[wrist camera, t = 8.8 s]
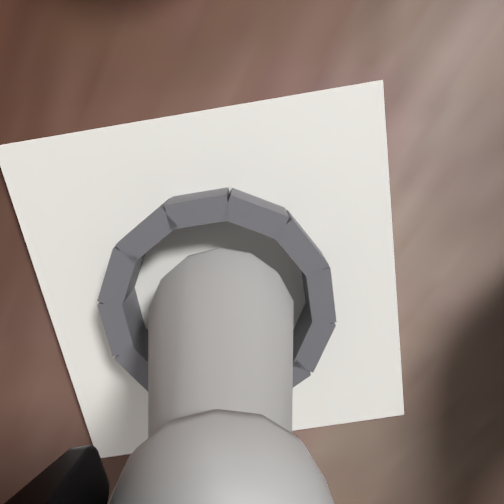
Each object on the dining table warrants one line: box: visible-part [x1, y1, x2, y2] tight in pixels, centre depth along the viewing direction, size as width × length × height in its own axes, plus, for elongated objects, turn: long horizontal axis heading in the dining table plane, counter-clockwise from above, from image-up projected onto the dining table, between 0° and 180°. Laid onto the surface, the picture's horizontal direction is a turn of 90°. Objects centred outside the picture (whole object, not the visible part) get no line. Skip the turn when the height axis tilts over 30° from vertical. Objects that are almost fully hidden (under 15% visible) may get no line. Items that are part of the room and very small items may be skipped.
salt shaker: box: [108, 247, 334, 504], centre depth 13 cm, size 6×6×13 cm
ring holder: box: [0, 80, 404, 458], centre depth 19 cm, size 16×16×3 cm
